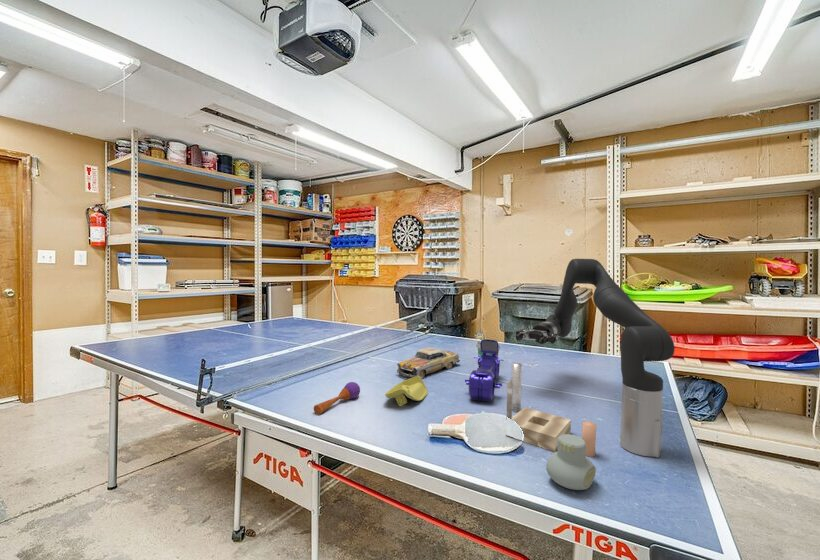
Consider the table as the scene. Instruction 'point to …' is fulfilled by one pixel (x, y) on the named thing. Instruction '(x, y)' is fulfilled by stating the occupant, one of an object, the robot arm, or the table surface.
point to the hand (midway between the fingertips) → (529, 339)
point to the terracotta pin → (589, 437)
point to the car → (427, 362)
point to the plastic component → (408, 390)
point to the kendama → (339, 397)
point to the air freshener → (571, 464)
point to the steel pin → (516, 386)
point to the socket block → (538, 425)
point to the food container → (480, 349)
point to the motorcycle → (485, 373)
